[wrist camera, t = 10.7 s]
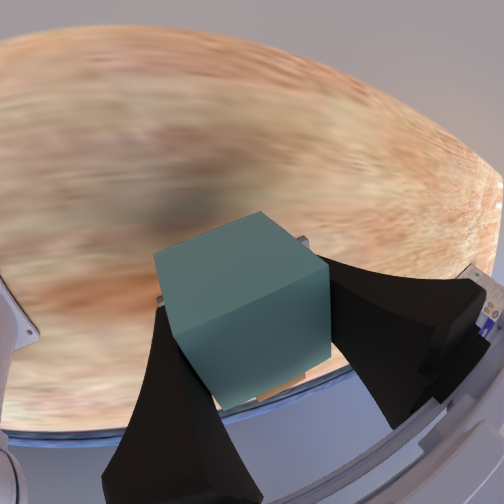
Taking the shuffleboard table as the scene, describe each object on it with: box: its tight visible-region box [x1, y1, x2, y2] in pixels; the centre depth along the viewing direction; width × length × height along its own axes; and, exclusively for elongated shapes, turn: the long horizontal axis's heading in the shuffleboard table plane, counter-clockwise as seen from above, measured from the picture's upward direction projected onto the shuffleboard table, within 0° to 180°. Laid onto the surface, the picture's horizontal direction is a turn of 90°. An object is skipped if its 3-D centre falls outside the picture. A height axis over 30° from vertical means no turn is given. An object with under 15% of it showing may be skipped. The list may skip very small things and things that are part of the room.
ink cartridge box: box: [457, 264, 504, 338], centre depth 38 cm, size 10×6×14 cm, turn 104°
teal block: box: [153, 211, 331, 411], centre depth 10 cm, size 4×4×4 cm
